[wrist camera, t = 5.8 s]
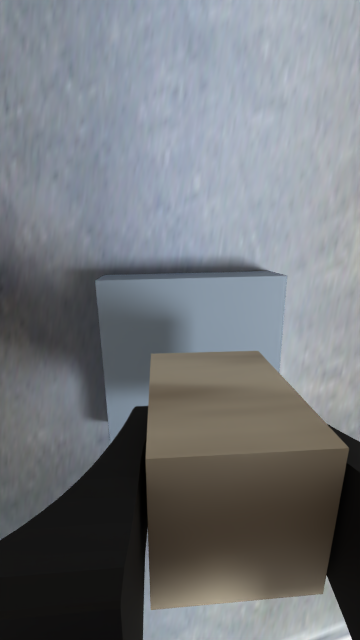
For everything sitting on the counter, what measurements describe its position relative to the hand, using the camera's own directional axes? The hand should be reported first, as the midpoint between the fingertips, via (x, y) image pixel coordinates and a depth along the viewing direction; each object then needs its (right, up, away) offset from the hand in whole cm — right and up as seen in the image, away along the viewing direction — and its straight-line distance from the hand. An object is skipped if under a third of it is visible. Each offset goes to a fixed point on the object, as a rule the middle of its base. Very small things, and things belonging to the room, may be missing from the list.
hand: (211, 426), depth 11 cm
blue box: (-1, +2, +8) cm, 8 cm away
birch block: (0, +1, +2) cm, 2 cm away
